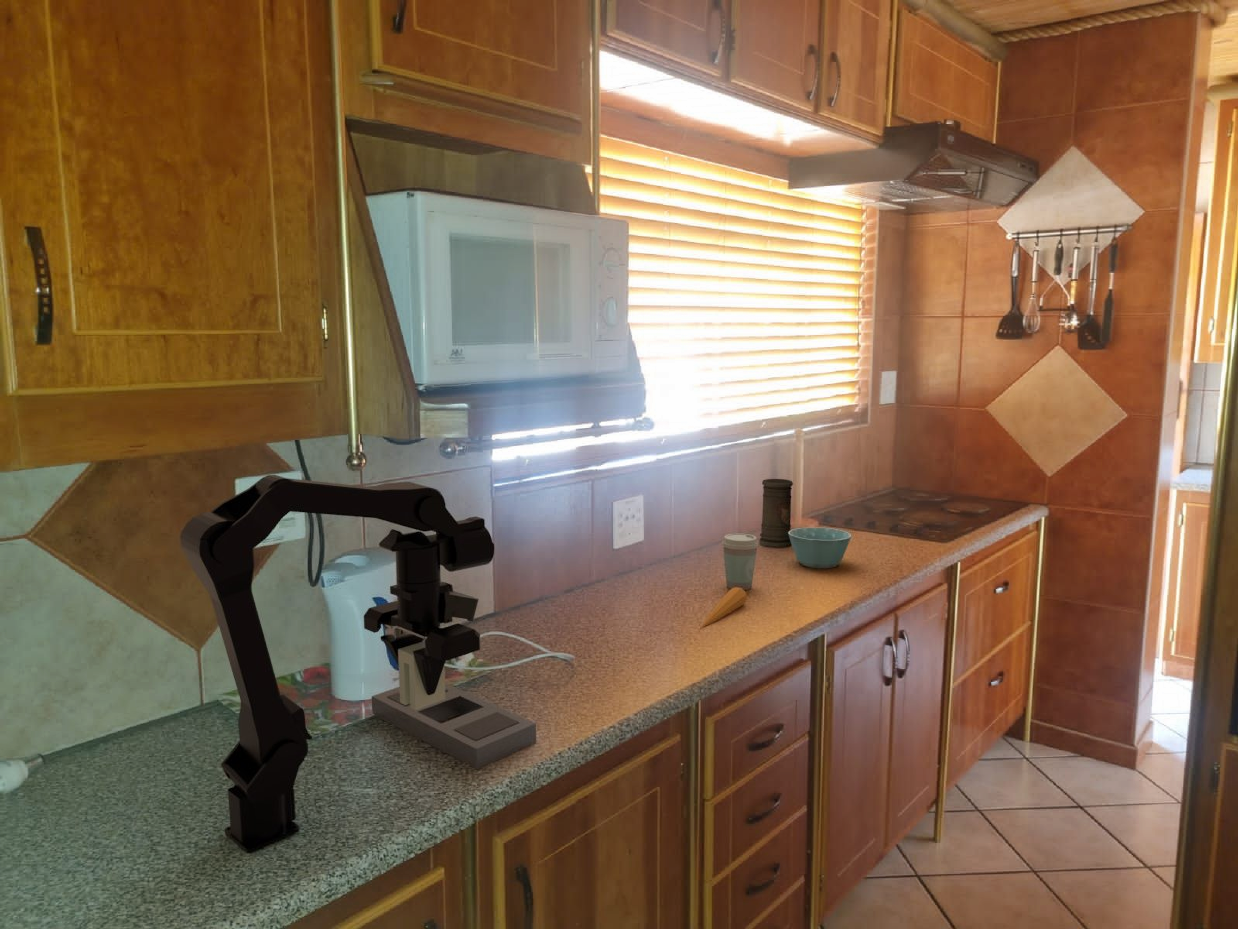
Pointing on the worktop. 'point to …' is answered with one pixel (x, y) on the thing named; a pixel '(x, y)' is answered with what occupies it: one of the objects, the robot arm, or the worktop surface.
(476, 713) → the grey slotted tray
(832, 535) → the bowl
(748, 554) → the coffee cup
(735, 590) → the carrot
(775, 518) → the container
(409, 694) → the beige slotted block
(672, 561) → the worktop surface
